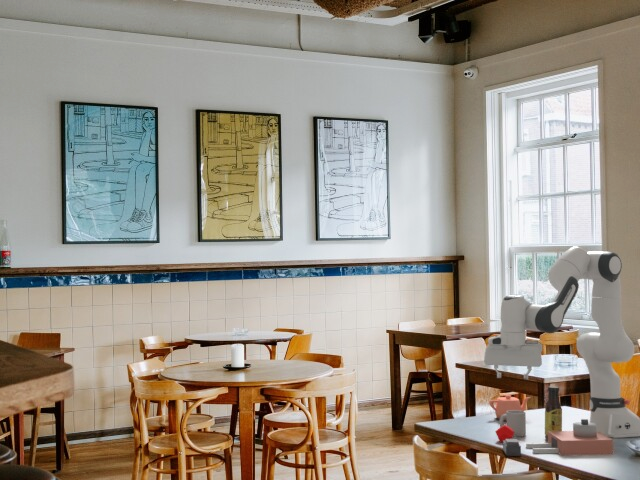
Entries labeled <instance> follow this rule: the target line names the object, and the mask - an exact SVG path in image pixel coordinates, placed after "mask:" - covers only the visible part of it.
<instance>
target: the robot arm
mask: <svg viewBox="0 0 640 480" xmlns="http://www.w3.org/2000/svg"><path fill="white" fill-rule="evenodd" d="M622 264H623V263H622V260H621V258H620V256H619V255H618V254H617V253H615V252H613V251H608V250H607V251H599V250H592V251H587V250H586V249H584V248H583V247H581V246H576V245H575V246H571V247H569V248H568V249H567V250H566V251H564V252H563V253H562V254H561V255H560V256H559V257H558V258H557V259H556V260H555V261H554V263H553V264H552V266H551V267H550V268H549V271H548V272H547V273H548V275H547V278H548V280H549V283H550V284H551V286H552V287H553V288H554V289H555V290H556V291H558V292H557V293H556V295H555V297H554V299H553V300H552V301H551V302H549V303H547V304H534V303H532V302H530V301H528V300H527V299H525V297H524V295H522V294H511V295H506V296H504V297H503V298H502V301H501V307H500V322H501V327H500V334H499V335H495V336H490V337H489V338H488V339H487V343H488V344H487V346H486V347H485V351H484V361H483V363H484V364H485V365H487V366H493V369H494V370H495V372H496V379H502V372H500V371H499V366H506V367H507V366H508V367H509V366H510V367H526V369H527V371H526V373H523V379H524V380H529V375H530V373H531V372H532V370H533V369H532V367H537V368H539V367H541V366H542V365H543V361H542V352H543V350H544V349H543V347H544V346H543V343H541V342H540V341H539V340H528V339H526V337H527V335H526V334H527V333H526V331H533V332H542V333H545V334H546V333H547V334H554V333H556V332H558V331H559V330H560V328H561V327H562V324H563V322H564V318H565V316H566V313H567V312H568V310H569V309H570V307H571V304H572V303H573V301H574V299H575V297H576V295H577V294H578V291H579V288H580V287H579V281H580V280H582V279H583V280H590V281H591V280H592V290H591V291H592V292H591V312H590V315H591V319H592V320H593V321H594V322H595V323H596V324H597V327H598V329H599V332H597V331H596V332H594V331H593V332H590V331H589V332H586V333H585V332H584V333H582V334H580V335H579V336H578V338H577V340H576V350H577V352H578V354H579V355H580V356H581V357H582V358H583V360H584V362H585V364H586V367H587V371H588V373H589V380H590V381H589V383H590V384H589V385H590V396H589V411H590V413H589V414H590V415H589V416H590V417H589V421H588V422H589V423H595V424H596V425H597V431H598V432H600V433H601V434H603V435H605V436H607V437H609V438H612V439H617V438H620V439H621V438H635V437H640V417H639V416H638V415H637V414H636V413H634V412H633V411H632V410H631V409H629V408H628V407H626V405H629V406H630V399H628V398H624V397H621V392H622V391H621V390H622V389H621V378H620V375H619V374H618V373H617V372H616V371H615V369H614V368H613V367H614V366H613V365H612V363H615V364H620V363H621V364H622V363H627V362H629V361H631V360H632V358H633V356H634V354H635V344H634V342H633V341H632V339H630V338H629V336H628V334H627V333H626V331H625V328H624V325H623V320H622V284H621V277H620V274H621V272H622V268H623V267H622V266H623V265H622Z"/></svg>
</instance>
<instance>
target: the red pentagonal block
mask: <svg viewBox="0 0 640 480" xmlns="http://www.w3.org/2000/svg"><path fill="white" fill-rule="evenodd" d="M495 434H496V436H497V439H498V440H499V442H500V443H501V444H503V440H505V439H514V437H513V435H514V431H513V430H512V429H511V428H510V427H508V426H507V424H504V426H502V427H500V426H499V427H498V428H497V430H495Z"/></svg>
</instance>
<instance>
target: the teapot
mask: <svg viewBox="0 0 640 480" xmlns="http://www.w3.org/2000/svg"><path fill="white" fill-rule="evenodd" d="M531 398H532V396H528V397H525V398H524V399H523V401H522V404H521V402H520V399H519V398H517V397H514V396H512V395H511V394H505V395H504V396H501V397H500V396H499V397H497V398H496V399H491V400H489V403H488V404H489V406H490V407H491V408H492V410H494V413H495V416H496V418H497V419H498V420H500V417H501V416H502V415H503V414H506V412H507V411H511V410H518V411H524V412H525V411H526V408H527V402H528V400H530V399H531ZM494 403H495V405H494ZM504 422H507V418H505V419H504Z"/></svg>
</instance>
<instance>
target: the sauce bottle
mask: <svg viewBox="0 0 640 480" xmlns="http://www.w3.org/2000/svg"><path fill="white" fill-rule="evenodd" d="M547 391H548V397H547V398H548V399H547V400H546V402H545V406H544V409H545V410H544V435H545V436H544V438H545V440H546V441H548V431H563V408H562V406H561V402H560V398H559V396H560V395H559V392H560V387H559V386H554V385H553V386H548V387H547Z"/></svg>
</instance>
